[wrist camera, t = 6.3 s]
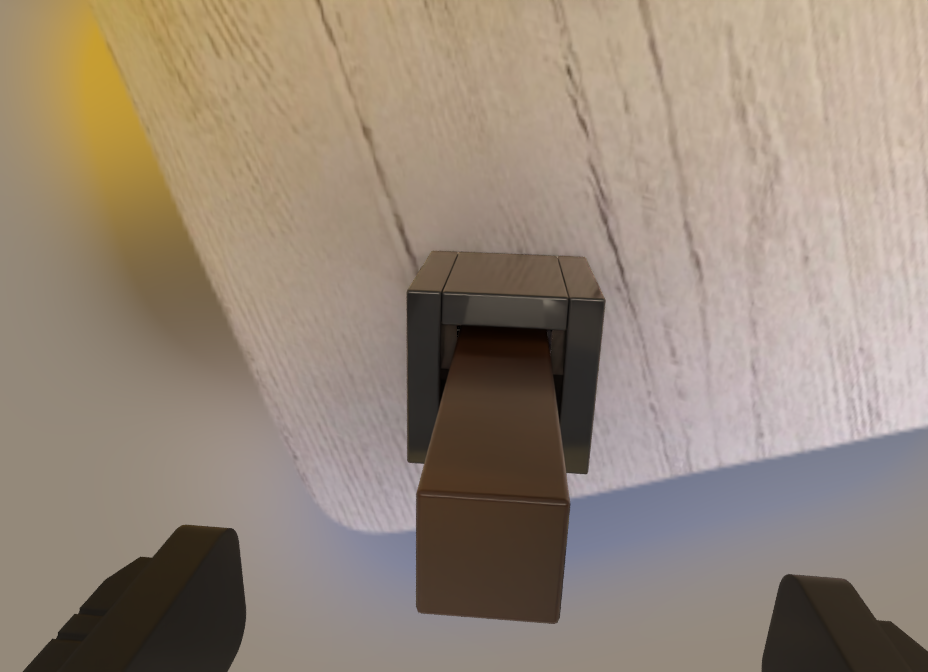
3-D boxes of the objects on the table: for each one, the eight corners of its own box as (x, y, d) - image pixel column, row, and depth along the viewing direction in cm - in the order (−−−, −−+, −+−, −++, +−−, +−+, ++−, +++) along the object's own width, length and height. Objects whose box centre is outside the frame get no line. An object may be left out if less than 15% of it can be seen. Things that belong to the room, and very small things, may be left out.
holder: (429, 390, 23) (406, 463, 18) (431, 250, 21) (406, 289, 16) (573, 398, 22) (588, 475, 18) (586, 256, 21) (606, 299, 16)
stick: (467, 358, 22) (415, 615, 11) (469, 290, 21) (415, 492, 10) (537, 361, 22) (559, 627, 11) (542, 293, 21) (571, 502, 10)
